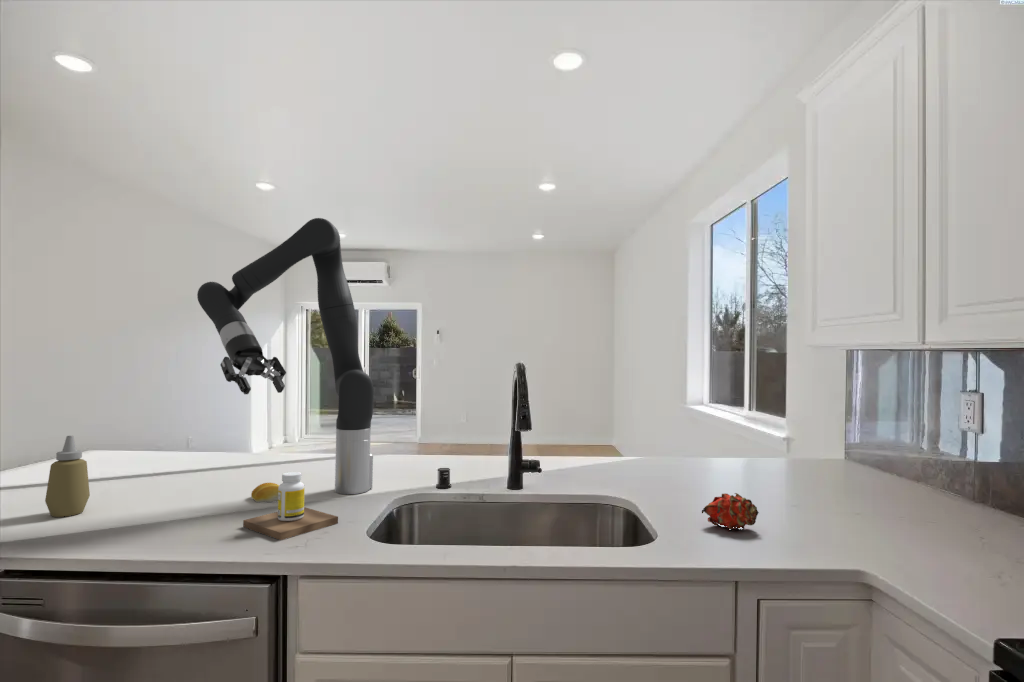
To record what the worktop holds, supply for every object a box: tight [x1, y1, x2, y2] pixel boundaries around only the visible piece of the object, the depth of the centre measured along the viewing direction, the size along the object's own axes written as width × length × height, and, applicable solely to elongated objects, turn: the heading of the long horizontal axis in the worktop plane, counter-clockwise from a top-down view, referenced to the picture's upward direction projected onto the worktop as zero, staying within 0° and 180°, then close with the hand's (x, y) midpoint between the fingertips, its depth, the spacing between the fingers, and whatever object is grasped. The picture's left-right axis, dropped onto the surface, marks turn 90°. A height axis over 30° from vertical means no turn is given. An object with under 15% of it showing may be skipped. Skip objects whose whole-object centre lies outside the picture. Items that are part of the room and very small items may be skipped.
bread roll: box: [250, 482, 280, 503], centre depth 143 cm, size 8×9×4 cm
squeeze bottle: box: [44, 435, 91, 518], centre depth 128 cm, size 8×8×18 cm
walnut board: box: [242, 506, 339, 541], centre depth 121 cm, size 14×14×2 cm
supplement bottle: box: [277, 471, 306, 521], centre depth 122 cm, size 5×5×10 cm
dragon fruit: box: [701, 492, 760, 530], centre depth 123 cm, size 8×8×12 cm
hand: (265, 391), depth 132 cm, fingers open, 8 cm apart
